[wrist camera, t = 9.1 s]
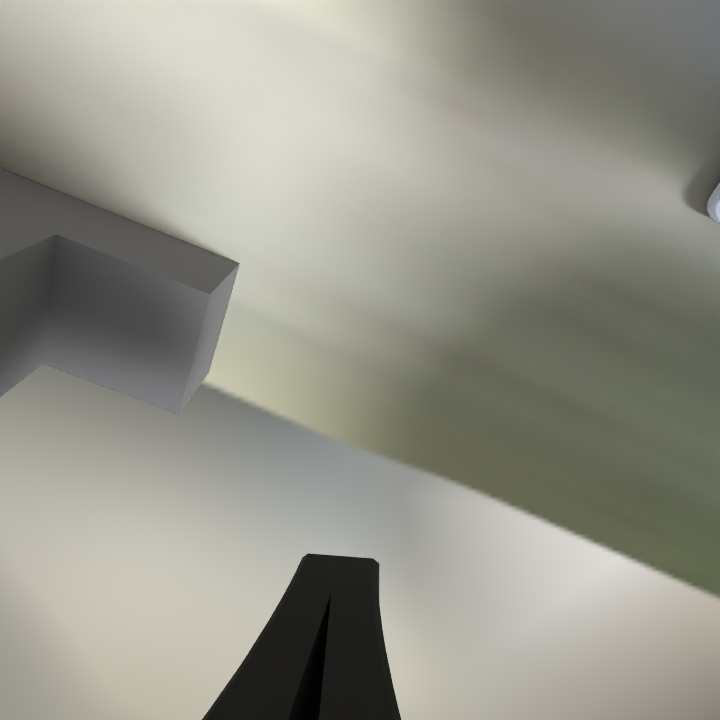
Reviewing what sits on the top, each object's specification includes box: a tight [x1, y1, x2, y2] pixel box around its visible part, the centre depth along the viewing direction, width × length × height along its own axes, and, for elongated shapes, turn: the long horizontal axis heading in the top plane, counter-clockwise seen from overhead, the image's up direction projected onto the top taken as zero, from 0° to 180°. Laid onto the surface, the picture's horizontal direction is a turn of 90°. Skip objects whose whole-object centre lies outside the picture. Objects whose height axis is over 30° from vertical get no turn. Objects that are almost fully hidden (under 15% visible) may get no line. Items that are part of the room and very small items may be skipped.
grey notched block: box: [0, 168, 239, 414], centre depth 15 cm, size 8×4×5 cm, turn 69°
